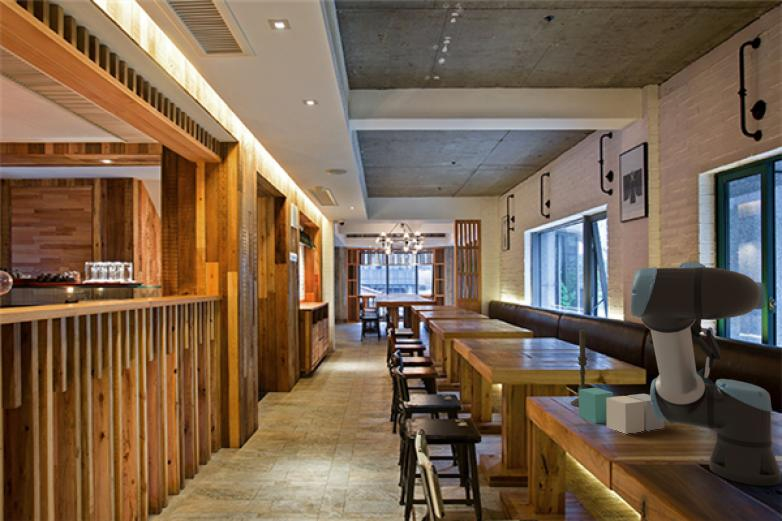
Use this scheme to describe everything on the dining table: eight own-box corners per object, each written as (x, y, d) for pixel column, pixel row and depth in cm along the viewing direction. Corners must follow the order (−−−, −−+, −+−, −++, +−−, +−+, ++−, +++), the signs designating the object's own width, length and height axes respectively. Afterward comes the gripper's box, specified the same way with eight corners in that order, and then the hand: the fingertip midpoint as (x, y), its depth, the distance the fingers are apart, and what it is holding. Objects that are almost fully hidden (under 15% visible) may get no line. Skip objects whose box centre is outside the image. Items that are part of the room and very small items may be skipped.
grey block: (644, 422, 176) (644, 393, 176) (664, 429, 168) (664, 398, 169) (627, 424, 173) (626, 395, 173) (646, 431, 165) (646, 401, 166)
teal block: (596, 415, 185) (596, 387, 185) (613, 421, 177) (613, 392, 177) (579, 417, 182) (578, 389, 182) (595, 423, 174) (595, 394, 175)
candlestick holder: (599, 404, 199) (598, 328, 200) (589, 409, 193) (589, 330, 193) (576, 400, 205) (575, 326, 206) (566, 404, 199) (566, 328, 200)
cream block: (624, 425, 173) (624, 395, 173) (644, 432, 165) (643, 401, 165) (606, 427, 170) (606, 397, 170) (625, 434, 162) (625, 403, 162)
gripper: (737, 314, 153) (730, 375, 159) (649, 298, 169) (645, 354, 176) (732, 324, 147) (725, 386, 154) (642, 306, 164) (638, 364, 171)
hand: (682, 369), depth 165 cm, fingers open, 13 cm apart
